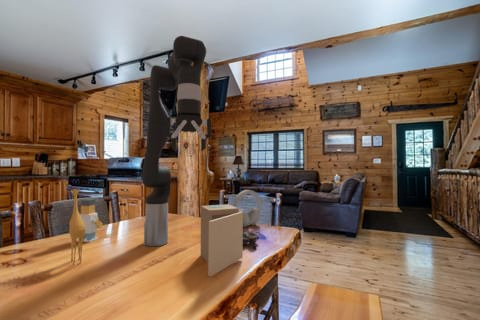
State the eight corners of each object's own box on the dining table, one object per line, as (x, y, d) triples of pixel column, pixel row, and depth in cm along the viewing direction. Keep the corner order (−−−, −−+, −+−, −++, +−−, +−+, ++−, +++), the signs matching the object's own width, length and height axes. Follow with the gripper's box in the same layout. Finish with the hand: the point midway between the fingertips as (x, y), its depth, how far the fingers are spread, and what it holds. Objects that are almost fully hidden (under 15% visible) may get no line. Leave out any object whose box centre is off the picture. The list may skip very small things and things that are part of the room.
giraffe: (65, 254, 95) (67, 187, 95) (79, 252, 98) (80, 186, 98) (70, 269, 82) (72, 191, 83) (86, 265, 85) (88, 190, 85)
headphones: (238, 230, 133) (238, 191, 134) (229, 227, 140) (229, 190, 140) (265, 225, 145) (265, 189, 145) (255, 222, 151) (255, 188, 152)
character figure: (76, 239, 115) (77, 199, 115) (102, 236, 120) (103, 197, 120) (74, 244, 108) (75, 201, 108) (102, 241, 113) (103, 199, 113)
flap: (240, 257, 91) (240, 212, 91) (242, 257, 91) (242, 212, 91) (208, 275, 76) (208, 221, 76) (210, 276, 75) (211, 221, 76)
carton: (208, 264, 87) (209, 210, 87) (200, 255, 96) (201, 205, 96) (238, 259, 91) (238, 207, 92) (227, 251, 100) (228, 204, 101)
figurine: (234, 220, 132) (268, 233, 106) (234, 232, 132) (268, 247, 106) (211, 223, 126) (241, 237, 100) (211, 235, 126) (241, 252, 99)
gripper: (210, 104, 87) (210, 152, 87) (167, 102, 85) (166, 151, 84) (212, 98, 80) (211, 150, 79) (164, 96, 77) (164, 150, 77)
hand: (188, 151), depth 82 cm, fingers open, 8 cm apart
